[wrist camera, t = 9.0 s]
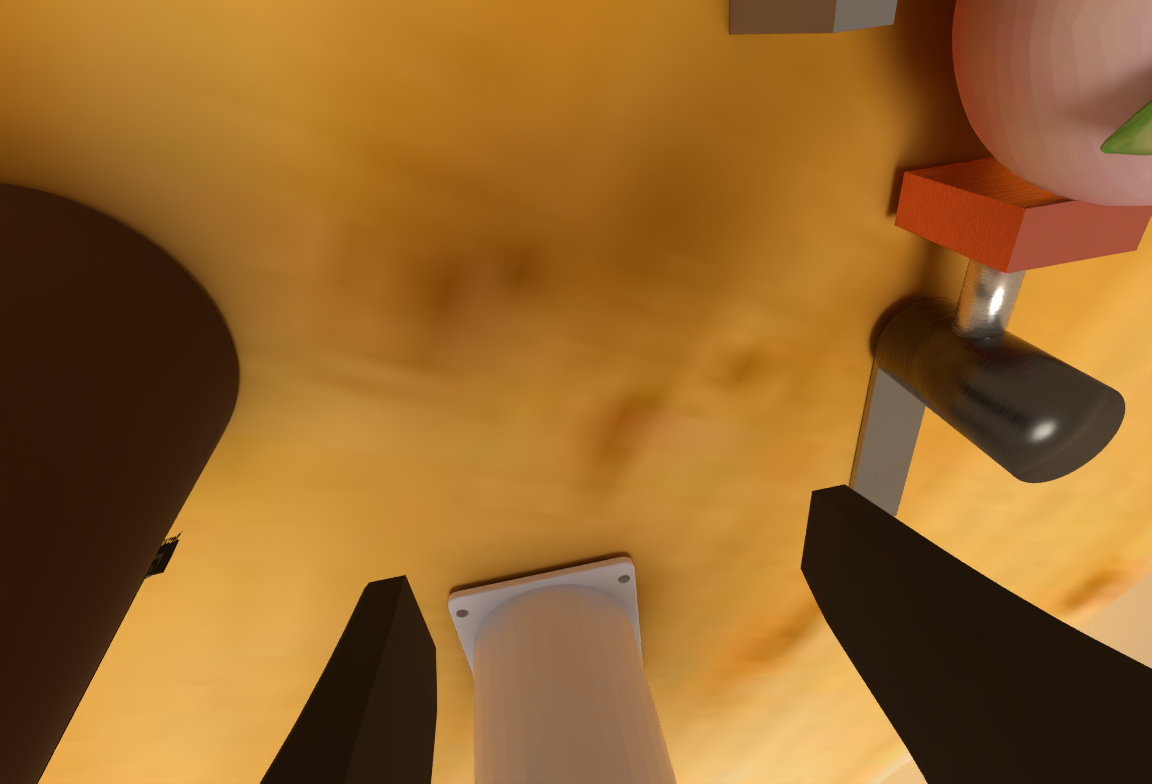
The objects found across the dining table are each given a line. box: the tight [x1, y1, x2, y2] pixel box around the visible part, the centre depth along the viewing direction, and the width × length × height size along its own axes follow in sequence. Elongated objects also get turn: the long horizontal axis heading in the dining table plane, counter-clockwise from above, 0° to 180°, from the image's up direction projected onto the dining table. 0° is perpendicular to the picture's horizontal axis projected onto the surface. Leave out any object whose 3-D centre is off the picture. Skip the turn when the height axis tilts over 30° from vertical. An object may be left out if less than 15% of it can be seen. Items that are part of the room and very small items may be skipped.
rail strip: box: [849, 354, 926, 516], centre depth 23 cm, size 9×2×1 cm, turn 7°
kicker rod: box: [876, 157, 1152, 483], centre depth 17 cm, size 8×4×6 cm, turn 7°
